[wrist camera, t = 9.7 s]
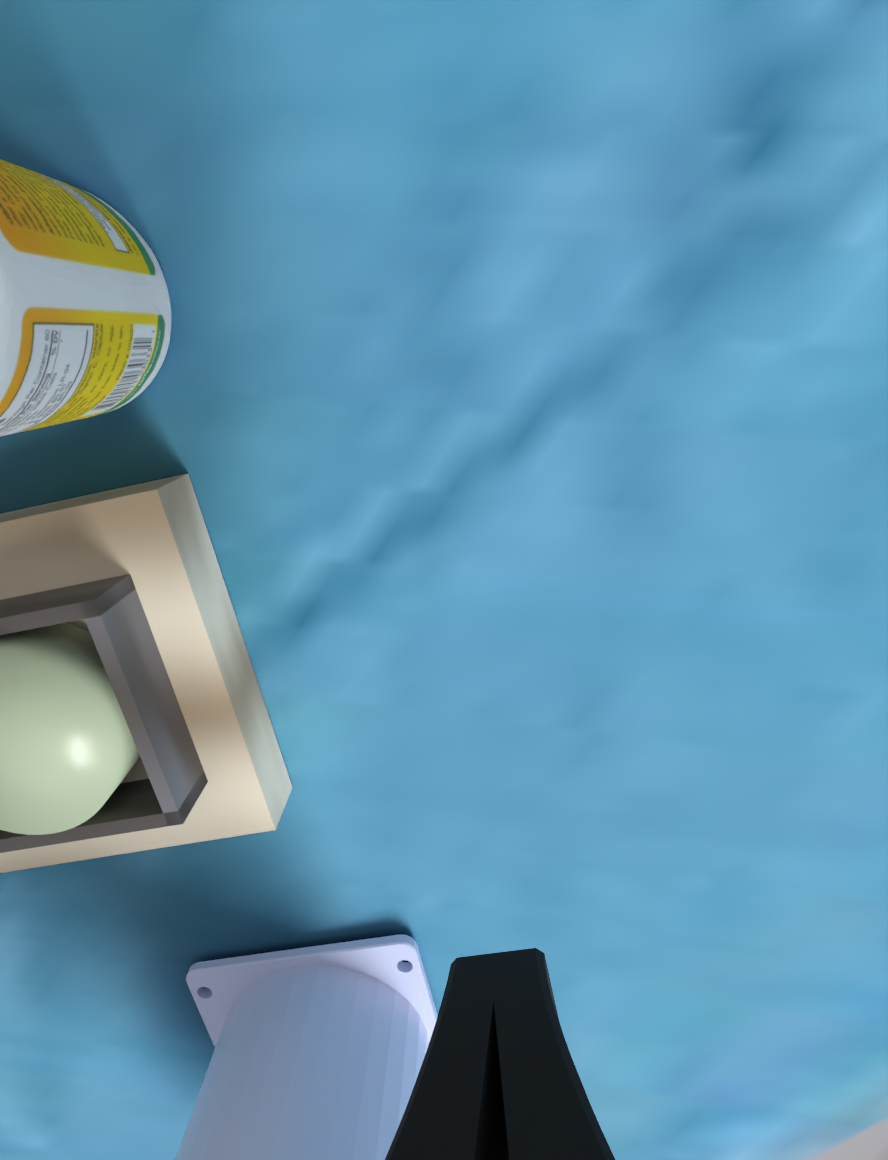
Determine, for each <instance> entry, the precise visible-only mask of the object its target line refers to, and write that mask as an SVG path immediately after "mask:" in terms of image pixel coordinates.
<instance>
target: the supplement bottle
mask: <svg viewBox="0 0 888 1160" xmlns="http://www.w3.org/2000/svg"><path fill="white" fill-rule="evenodd" d="M170 334H171V305H170V297H169V292H168V288H167V285H166V282H165V279H164V276H163V273H162V271H161V268H160V266H159V263H158V261H157V259H156V257H155V255H154V253H153V252H152V250H151V249H150V247H149V246H148V245H147V243H146V242H145V241H144V239H143V238H142V237H141V235H140V234H139V233H138V232H137V230H136V229H135V228H134V227H133V226H132V225H131V224H130V223H129V222H128V221H127V220H126V219H125V218H124V217H123V216H122V215H121V214H120V213H118V212H117V211H116V210H115V209H113V208H112V207H111V206H110V205H108V204H107V203H105V202H104V201H103V200H101V199H99V198H97V197H96V196H94V195H92V194H91V193H88V192H86V191H84V190H82V189H80V188H77V187H74V186H72V185H69V184H67V183H65V182H62V181H60V180H57V179H53V178H50V177H48V176H45V175H43V174H40V173H37V172H34V171H31V170H29V169H26V168H23V167H21V166H18V165H15V164H12V163H10V162H7V161H4V160H2V159H0V437H1V436H5V435H10V434H14V433H19V432H24V431H29V430H33V429H38V428H43V427H47V426H52V425H56V424H61V423H65V422H70V421H74V420H79V419H85V418H89V417H93V416H97V415H101V414H104V413H107V412H110V411H113V410H116V409H118V408H120V407H122V406H124V405H126V404H127V403H129V402H130V401H132V400H133V399H135V398H136V397H137V396H138V395H140V394H141V393H142V392H143V391H144V390H145V389H146V388H147V387H148V386H149V384H150V383H151V382H152V380H153V379H154V377H155V376H156V374H157V373H158V371H159V369H160V367H161V366H162V364H163V361H164V359H165V356H166V354H167V350H168V346H169V343H170Z"/></svg>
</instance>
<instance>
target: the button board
mask: <svg viewBox="0 0 888 1160" xmlns="http://www.w3.org/2000/svg"><path fill="white" fill-rule="evenodd" d="M61 623H67V624H71V625H74V626H77V627H80V628H82V629H85V630H87V631H89V632H90V634H91V636H92V639H93V641H94V644H95V646H96V649H97V651H98V654H99V656H100V658H101V661H102V663H103V666H104V668H105V671H106V673H107V676H108V678H109V681H110V683H111V686H112V688H113V691H114V693H115V696H116V698H117V700H118V703H119V705H120V708H121V710H122V713H123V715H124V718H125V720H126V723H127V725H128V728H129V730H130V733H131V735H132V737H133V740H134V742H135V745H136V747H137V750H138V752H139V755H140V758H139V760H138V761H137V762H136V764H135V765H134V766H133V768H132V769H131V770H130V771H129V773H128V774H127V775H126V777H125V778H124V779H123V780H122V782H121V783H120V784H119V786H118V787H117V788H116V789H115V791H114V792H113V793H112V795H111V796H110V797H109V799H108V800H107V801H106V802H105V804H104V805H103V806H102V808H101V809H100V810H99V811H98V812H97V813H96V814H95V815H94V816H92V817H91V818H90V819H88V820H87V821H86V822H84V823H82V824H80V825H78V826H76V827H74V828H71V829H69V830H66V831H62V832H58V833H53V834H44V835H26V834H18V833H12V832H7V831H3V830H0V873H4V872H10V871H17V870H23V869H29V868H36V867H42V866H49V865H55V864H61V863H68V862H74V861H81V860H87V859H93V858H100V857H106V856H113V855H119V854H125V853H132V852H138V851H145V850H151V849H158V848H164V847H170V846H177V845H183V844H190V843H196V842H202V841H209V840H215V839H222V838H228V837H234V836H241V835H247V834H254V833H260V832H267V831H273V830H276V828H277V825H278V823H279V820H280V818H281V815H282V813H283V810H284V808H285V805H286V802H287V800H288V797H289V795H290V792H291V790H292V785H291V782H290V779H289V776H288V773H287V770H286V767H285V764H284V761H283V758H282V755H281V752H280V749H279V746H278V743H277V739H276V736H275V733H274V730H273V727H272V724H271V721H270V718H269V715H268V712H267V709H266V706H265V703H264V700H263V697H262V694H261V691H260V688H259V685H258V682H257V679H256V676H255V673H254V670H253V667H252V664H251V661H250V658H249V655H248V652H247V649H246V646H245V643H244V640H243V637H242V634H241V631H240V628H239V625H238V622H237V619H236V616H235V613H234V610H233V607H232V604H231V601H230V598H229V595H228V592H227V589H226V586H225V583H224V580H223V577H222V574H221V571H220V568H219V564H218V561H217V558H216V555H215V552H214V549H213V546H212V543H211V540H210V537H209V534H208V531H207V528H206V525H205V522H204V519H203V516H202V513H201V510H200V507H199V504H198V501H197V498H196V495H195V492H194V489H193V486H192V483H191V480H190V477H189V474H183V475H178V476H173V477H169V478H164V479H159V480H155V481H150V482H145V483H141V484H136V485H131V486H127V487H122V488H117V489H113V490H108V491H103V492H99V493H94V494H89V495H85V496H80V497H75V498H71V499H66V500H61V501H57V502H52V503H47V504H43V505H38V506H33V507H29V508H24V509H19V510H15V511H10V512H5V513H1V514H0V635H4V634H9V633H14V632H20V631H25V630H30V629H35V628H40V627H45V626H50V625H56V624H61Z"/></svg>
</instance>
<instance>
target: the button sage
mask: <svg viewBox="0 0 888 1160" xmlns="http://www.w3.org/2000/svg"><path fill="white" fill-rule="evenodd" d="M139 758H140V755H139V752H138V750H137V747H136V745H135V742H134V740H133V737H132V735H131V733H130V730H129V728H128V725H127V723H126V720H125V718H124V715H123V713H122V710H121V708H120V705H119V703H118V700H117V698H116V696H115V693H114V691H113V688H112V686H111V683H110V681H109V678H108V676H107V673H106V671H105V668H104V666H103V663H102V661H101V658H100V656H99V654H98V651H97V649H96V646H95V644H94V641H93V639H92V636H91V634H90V632H89V631H87V630H85V629H82V628H80V627H77V626H74V625H71V624H67V623H61V624H56V625H50V626H45V627H40V628H35V629H30V630H25V631H20V632H14V633H9V634H4V635H0V830H3V831H7V832H12V833H18V834H26V835H44V834H53V833H58V832H62V831H66V830H69V829H71V828H74V827H76V826H78V825H80V824H82V823H84V822H86V821H87V820H88V819H90V818H91V817H92V816H94V815H95V814H96V813H97V812H98V811H99V810H100V809H101V808H102V806H103V805H104V804H105V802H106V801H107V800H108V799H109V797H110V796H111V795H112V793H113V792H114V791H115V789H116V788H117V787H118V786H119V784H120V783H121V782H122V780H123V779H124V778H125V777H126V775H127V774H128V773H129V771H130V770H131V769H132V768H133V766H134V765H135V764H136V762H137V761H138V760H139Z"/></svg>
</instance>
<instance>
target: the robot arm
mask: <svg viewBox="0 0 888 1160" xmlns="http://www.w3.org/2000/svg"><path fill="white" fill-rule="evenodd" d="M402 960H407V961H409V962H402ZM186 982H187V984H188V987H189V989H190V991H191V994H192V996H193V998H194V1001H195V1003H196V1005H197V1008H198V1010H199V1012H200V1015H201V1017H202V1019H203V1022H204V1024H205V1026H206V1028H207V1031H208V1033H209V1035H210V1038H211V1040H212V1042H213V1045H214V1047H215V1050H214V1052H213V1055H212V1058H211V1061H210V1064H209V1066H208V1069H207V1072H206V1075H205V1077H204V1080H203V1083H202V1086H201V1089H200V1091H199V1094H198V1097H197V1100H196V1103H195V1105H194V1108H193V1111H192V1114H191V1116H190V1119H189V1122H188V1125H187V1128H186V1130H185V1133H184V1136H183V1139H182V1141H181V1144H180V1147H179V1150H178V1153H177V1155H176V1158H175V1160H615V1158H614V1156H613V1154H612V1152H611V1150H610V1147H609V1145H608V1143H607V1141H606V1139H605V1137H604V1134H603V1132H602V1130H601V1128H600V1126H599V1123H598V1121H597V1119H596V1117H595V1114H594V1112H593V1110H592V1107H591V1105H590V1103H589V1100H588V1098H587V1095H586V1093H585V1090H584V1088H583V1085H582V1083H581V1080H580V1078H579V1075H578V1073H577V1070H576V1068H575V1065H574V1063H573V1060H572V1058H571V1055H570V1052H569V1050H568V1047H567V1044H566V1041H565V1038H564V1035H563V1032H562V1029H561V1026H560V1023H559V1019H558V1014H557V1010H556V1005H555V1001H554V996H553V992H552V987H551V983H550V978H549V974H548V969H547V964H546V960H545V955H544V953H543V952H541V951H539V950H538V949H536V948H533V949H524V950H516V951H508V952H500V953H492V954H484V955H476V956H468V957H460V958H456V959H455V961H454V962H453V963H452V964H451V967H450V972H449V976H448V981H447V985H446V988H445V992H444V996H443V1000H442V1003H441V1007H440V1010H439V1013H438V1015H437V1011H436V1008H435V1005H434V1001H433V998H432V994H431V991H430V987H429V984H428V980H427V977H426V973H425V970H424V967H423V963H422V960H421V956H420V953H419V949H418V946H417V943H416V941H415V940H414V939H413V938H412V937H410V936H407V935H392V936H385V937H377V938H370V939H363V940H355V941H348V942H341V943H334V944H326V945H319V946H312V947H304V948H297V949H290V950H283V951H275V952H268V953H261V954H253V955H246V956H239V957H232V958H224V959H217V960H210V961H202V962H197V963H194V964H193V965H192V966H191V967H190V969H189V971H188V974H187V976H186ZM206 987H207V988H206Z"/></svg>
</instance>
